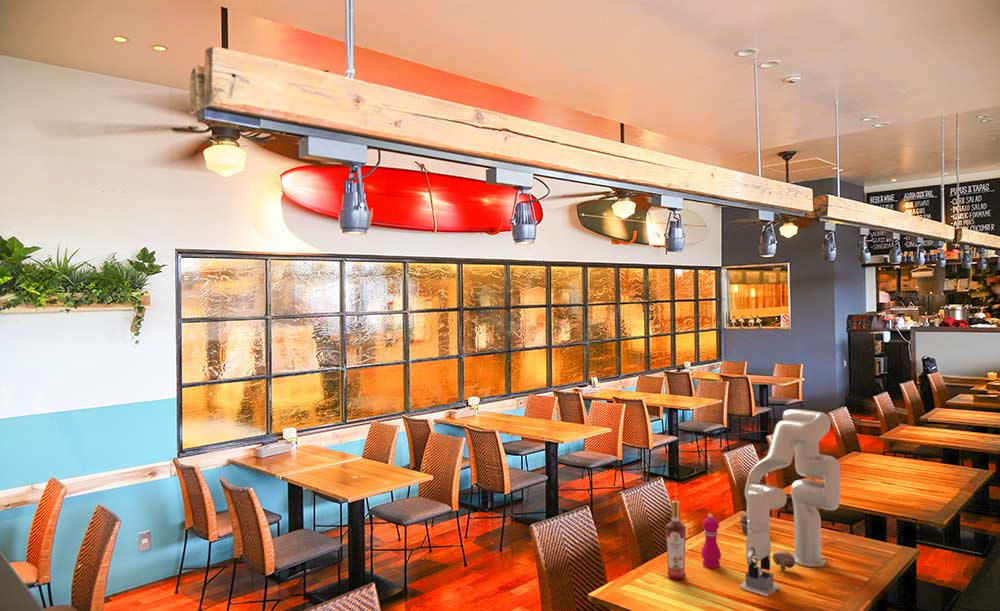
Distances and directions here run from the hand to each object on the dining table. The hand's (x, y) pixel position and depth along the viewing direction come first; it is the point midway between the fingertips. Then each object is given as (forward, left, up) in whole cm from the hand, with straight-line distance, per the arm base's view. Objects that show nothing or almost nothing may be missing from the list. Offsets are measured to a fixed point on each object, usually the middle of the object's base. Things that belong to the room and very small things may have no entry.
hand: (759, 573), depth 228 cm
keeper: (0, 0, -5) cm, 5 cm away
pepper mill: (-7, -22, -6) cm, 24 cm away
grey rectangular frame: (0, 0, -4) cm, 4 cm away
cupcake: (-52, -26, -6) cm, 58 cm away
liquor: (+12, -26, -6) cm, 29 cm away
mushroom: (-21, 0, -6) cm, 22 cm away
